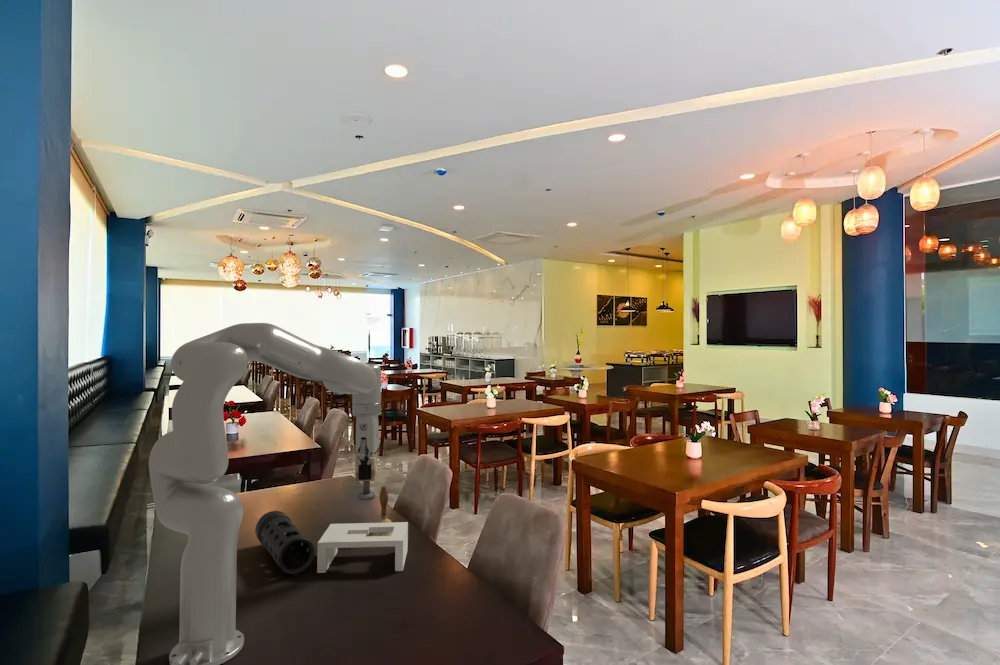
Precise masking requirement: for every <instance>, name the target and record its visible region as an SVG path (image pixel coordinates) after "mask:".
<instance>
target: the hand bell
mask: <svg viewBox="0 0 1000 665" xmlns="http://www.w3.org/2000/svg"><path fill="white" fill-rule="evenodd" d="M388 501H389V494H388V489H387V486H386V485H383V486H381V489H380V493H379V503H380V506H381V507H380V508H381V511H380V512H381V516H380V519H378V520H377V522H376V523H390V522H392V520H391V519H390V518H388V514H387V505H388ZM391 535H392V532H373V534H372V536H391Z"/></svg>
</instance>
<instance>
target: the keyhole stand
mask: <svg viewBox="0 0 1000 665" xmlns="http://www.w3.org/2000/svg"><path fill="white" fill-rule="evenodd" d="M375 532H392V535H391V536H373V535H372V536H371V535H369V534H371V533H373V534H374V533H375ZM408 542H409V522H408V521H402V522H400V521H399V522H397V521H395V522H392V521H391V522H390V523H377V522H356V523H354V522H353V523H352V522H351V523H349V522H348V523H330V524H329V526H328V527H327V528H326V530H325V531H324V533H323V534H322V536H321V538H320V539H319V540H318V541H317V557H316V558H317V559H316V560H317V563H316V564H317V566H316V567H317V569H316V570H317V571H316V573H325V572H326V573H327V571H328V569H329V567H330V566H331V565H332V563H333V560H334V559H335V557H336V556H337V553H338V550H339V549H345V548H346V549H347V548H349V549H350V548H351V549H352V548H382V547H384V548H386V547H390V548H391V547H394V549H395V550H394V552H395V553H394V554H395V555H394V572H403V571H404V568H405V564H406V559H407V554H408V547H409V546H408V545H409V544H408ZM329 565H330V566H329ZM326 570H327V571H326ZM326 573H325V574H326Z"/></svg>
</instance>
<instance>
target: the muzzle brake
mask: <svg viewBox="0 0 1000 665" xmlns="http://www.w3.org/2000/svg"><path fill="white" fill-rule="evenodd" d="M254 532H255V538H257V540H258V541H259V543H260V544H262V546H263V547H264V548H265V549H266V551H267V552H268V553H269V555H270V556H271V558H272V559H273V560H274V561H275V563H276V564H277V566H278V567H279V568H280V570H281V571H282V572H283V573H285V574H287V575H292V576H293V577H297V576H300V573H302V572H304V571H305V570H306V569H308V568H309V567H310V566H311V564H312V562H313V561H314V558H315V554H316V551H315V545H314V544H313V542H312V541H311V540H310V539H309V538H308V537H307V536H306V535H305V534H304V533H303V532H302V531H301V530H300V529H299V528H298V527H297V526H296V525H295V524H294V523H293V522H292V520H291V519H290V517H289V516H288V515H287V514H286V513H284V512H283V511H279V510H273V511H272V510H271V511H268V512H266V513H264V514H263V515H262V516H261V517H260V518H259V520H258V521H257V523H256V525H255V531H254Z"/></svg>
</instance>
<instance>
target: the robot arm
mask: <svg viewBox="0 0 1000 665" xmlns="http://www.w3.org/2000/svg"><path fill="white" fill-rule="evenodd" d="M170 360H171V361H170V367H171V370H172V372H173V374H174V375H175V377H176V378H177V379H178V380H180V381H183V382H182V383H181V384H180V386H179V387H178V389H177V391H176V393H175V395H174V397H173V400H172V405H171V421H172V422H171V423H172V425H171V426H172V431H169V432H166V433H165V434H163V435H162V436H160V437H159V438H158V439H157V440H156V441H155V443H154V444H153V446H152V447H151V450H150V453H149V458H148V470H149V471H148V472H149V478H150V485H151V490H152V491H151V492H152V498H153V504H154V510H155V513H156V517H157V518H158V521H159V522H160V523H161V525H163V526H164V527H166V529H170V530H171V531H175V532H177V533H181V534H184V535H186V536H187V537H188V538H187V543H186V546H185V549H184V551H183V553H182V557H181V560H180V561H181V562H180V575H179V576H180V580H179V582H180V583H179V586H180V587H179V588H180V589H179V592H180V593H179V631H178V632H179V633H178V636H179V639H178V640H179V641H178V643H177V644H176V645H174V647H173V648H172V649H171V651H170V652H169V655H168V662H169V665H221V664H224V663H227V662H228V661H229V660H231V659H232V658H234V657H235V656H236V655H237V654H239V652H240V651H241V650H242V649H243V647H244V645H245V635H244V633H242V632H241V631H240V630H238V629H236V628H237V627H236V626H237V624H236V620H237V617H236V616H237V573H238V572H237V570H238V569H237V568H238V566H237V560H238V559H237V558H238V541H239V535H240V531H241V526H242V523H243V522H242V521H243V516H244V508H243V502H242V501H241V499H240V497H239V496H238V495H237V494H236V493H235V492H234V491H232V490H229V489H227V488H225V487H220V486H217V485H212V484H211V483H214V482H216V481H218V480H220V479H221V478H222V477H223V476H224V475H225V474H226V472H227V471H228V466H229V450H228V449H229V448H228V443H227V442H228V441H227V434H226V428H225V427H226V426H225V420H224V404H225V401H226V399H227V397H228V394H229V393H230V391H231V390H232V389H233V387H234V386H235V385H236V384H237V383H238V382H239V381H240V380H241V379H242V377H243V376H244V375H245V374H246V371H247V369H248V367H249V366H248V365H249V362H258V363H261V364H264V365H266V366H269V367H270V368H274V369H277V370H279V371H281V372H285V373H286V374H289V375H291V376H294V377H296V378H300V379H304V380H308V381H315V382H316V381H317V382H322V383H323V385H324V387H325V389H327V390H328V391H329V392H331V393H334V394H335V393H336V394H344V395H345V394H350V395H352V402H351V403H352V406H351V407H352V409H351V410H352V411H351V412H352V416H353V417H356V423H355V451H356V453H357V454H358V455H359V480H370V479H371V464H370V454H376V452H377V451H378V449H379V448H380V428H379V426H380V425H379V416H380V415H382V369H381V366H380V365H379V364H377V363H366V362H364V361H362V360H360V359H358V358H356V357H354V356H351V355H349V354H345V353H343V352H339V351H335V350H333V349H330V348H327V347H324V346H321V345H317V344H314V343H312V342H309V341H308V340H306V339H303V338H302V337H300V336H298V335H296V334H293V333H291V332H290V331H287V330H285V329H283V328H281V327H279V326H277V325H276V324H272V323H267V322H249V323H248V322H246V323H245V322H243V323H237V324H234V325H230V326H228V327H225V328H223V329H220V330H217V331H215V332H211V333H209V334H206V335H204V336H201V337H198V338H195V339H192V340H190V341H188V342H185V343H184V344H182V345H181V346H179V347H178V348H177V349H176V350H175V352H174V353H173V355H172V358H171V359H170ZM366 455H368V457H367V456H366Z"/></svg>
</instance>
